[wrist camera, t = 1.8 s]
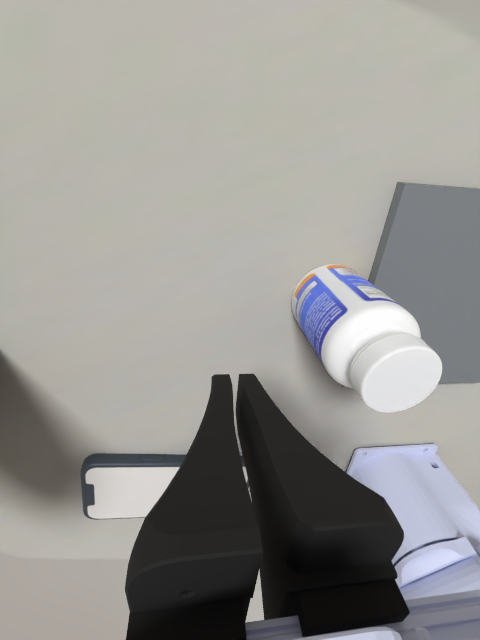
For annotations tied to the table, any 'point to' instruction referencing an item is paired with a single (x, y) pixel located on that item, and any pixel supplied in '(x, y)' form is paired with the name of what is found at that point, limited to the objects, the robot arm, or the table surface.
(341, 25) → the table surface
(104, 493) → the smartphone
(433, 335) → the rubber mat
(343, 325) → the pill bottle
